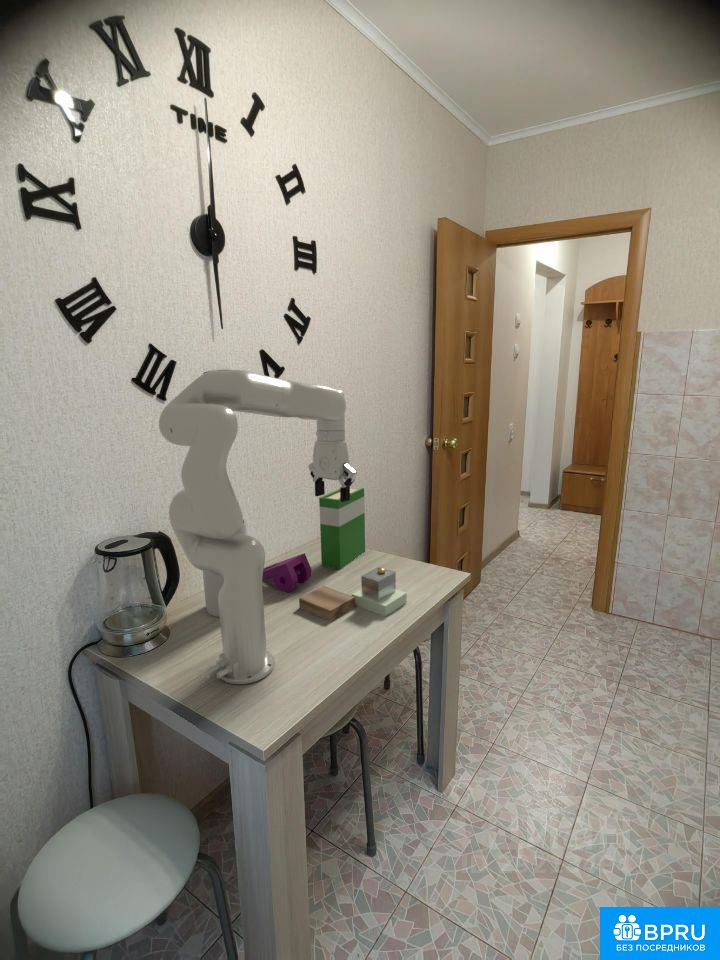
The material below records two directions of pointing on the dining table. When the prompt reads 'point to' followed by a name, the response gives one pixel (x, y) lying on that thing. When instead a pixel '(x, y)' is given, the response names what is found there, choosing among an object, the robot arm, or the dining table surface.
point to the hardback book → (342, 528)
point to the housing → (378, 583)
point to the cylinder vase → (215, 585)
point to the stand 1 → (327, 603)
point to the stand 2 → (381, 602)
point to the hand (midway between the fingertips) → (332, 498)
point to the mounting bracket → (289, 572)
